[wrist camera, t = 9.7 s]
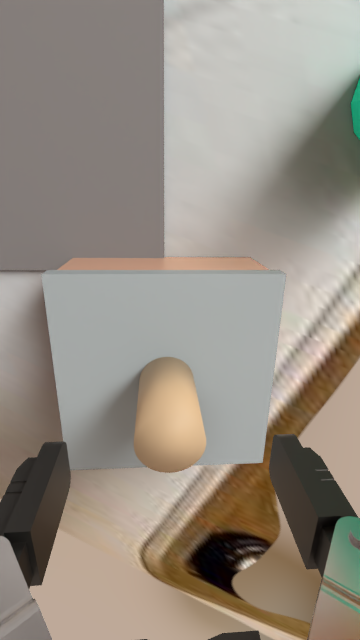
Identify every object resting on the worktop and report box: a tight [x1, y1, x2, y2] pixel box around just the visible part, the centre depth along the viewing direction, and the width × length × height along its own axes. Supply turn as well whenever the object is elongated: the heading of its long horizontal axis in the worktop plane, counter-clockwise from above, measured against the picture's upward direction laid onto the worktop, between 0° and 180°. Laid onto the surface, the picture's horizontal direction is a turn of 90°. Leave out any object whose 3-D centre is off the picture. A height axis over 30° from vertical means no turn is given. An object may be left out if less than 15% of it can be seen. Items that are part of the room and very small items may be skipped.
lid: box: [41, 270, 286, 473], centre depth 17 cm, size 12×12×6 cm
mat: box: [0, 0, 164, 270], centre depth 19 cm, size 16×12×1 cm
